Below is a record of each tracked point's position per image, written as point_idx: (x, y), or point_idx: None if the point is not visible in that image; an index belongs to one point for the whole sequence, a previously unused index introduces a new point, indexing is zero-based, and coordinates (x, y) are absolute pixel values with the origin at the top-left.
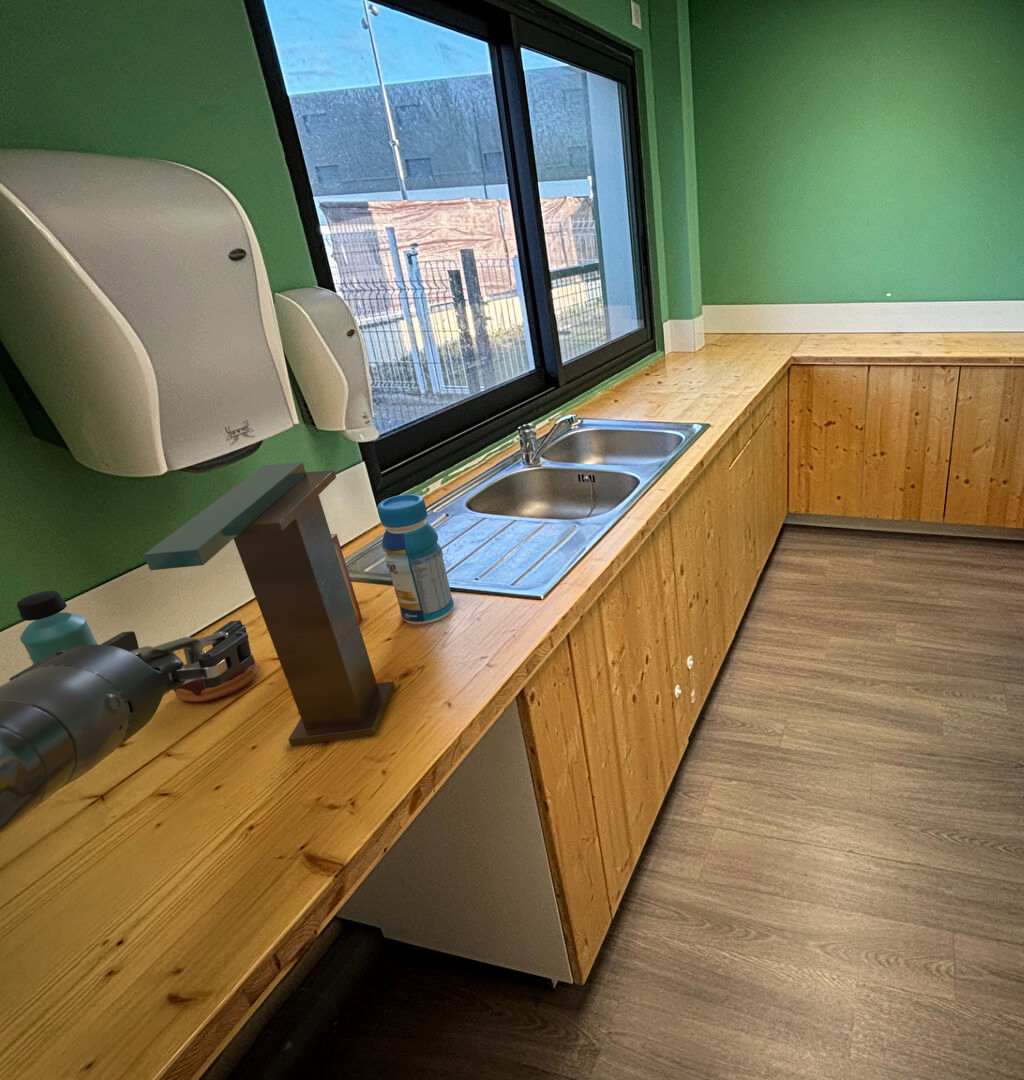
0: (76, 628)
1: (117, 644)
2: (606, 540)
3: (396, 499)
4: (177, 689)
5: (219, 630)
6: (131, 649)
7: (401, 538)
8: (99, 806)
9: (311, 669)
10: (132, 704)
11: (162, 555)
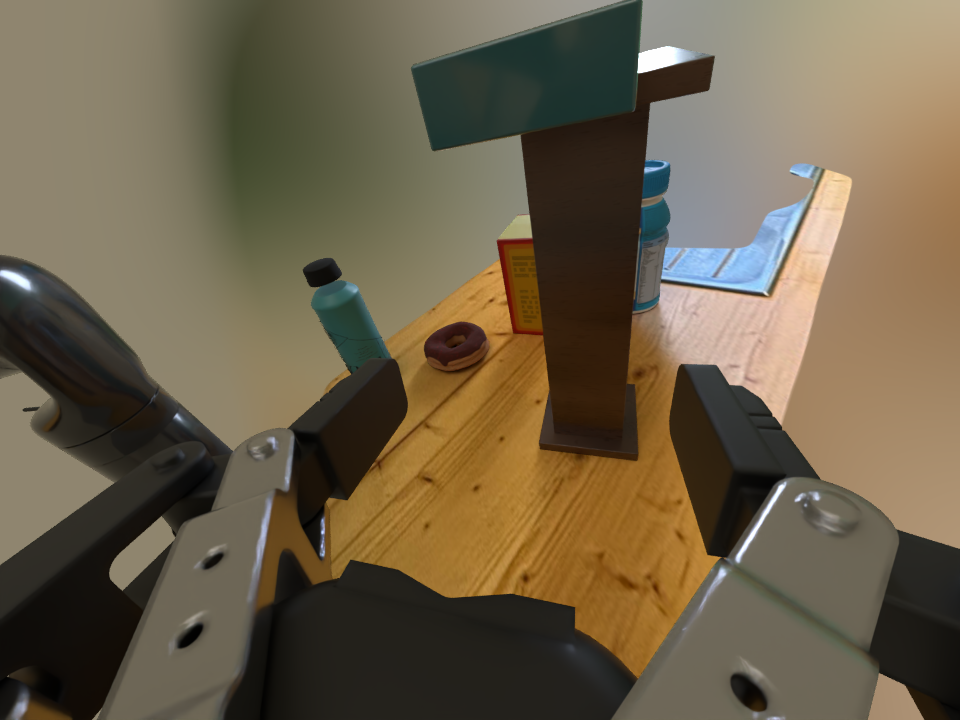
0: (350, 297)
1: (352, 414)
2: (806, 232)
3: None
4: (428, 357)
5: (736, 440)
6: (391, 411)
7: None
8: (376, 476)
9: (582, 377)
10: None
11: (479, 62)
